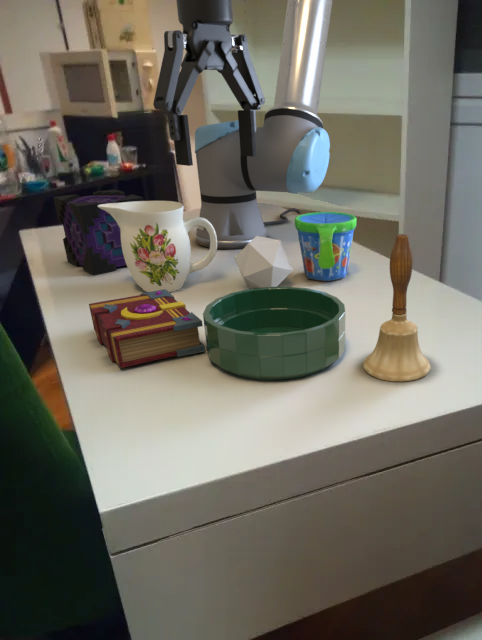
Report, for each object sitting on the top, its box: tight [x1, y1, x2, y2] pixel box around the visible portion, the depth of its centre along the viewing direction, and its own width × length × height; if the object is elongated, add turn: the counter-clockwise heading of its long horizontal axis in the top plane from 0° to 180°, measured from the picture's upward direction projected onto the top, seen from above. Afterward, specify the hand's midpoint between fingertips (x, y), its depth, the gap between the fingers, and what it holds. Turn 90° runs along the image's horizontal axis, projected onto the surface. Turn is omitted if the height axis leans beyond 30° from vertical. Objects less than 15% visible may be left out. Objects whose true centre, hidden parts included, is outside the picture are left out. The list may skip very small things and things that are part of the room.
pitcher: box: [98, 200, 218, 293], centre depth 98 cm, size 11×18×14 cm, turn 104°
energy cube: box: [52, 189, 144, 276], centre depth 112 cm, size 12×12×12 cm
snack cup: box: [294, 211, 357, 282], centre depth 103 cm, size 16×10×10 cm
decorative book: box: [88, 289, 207, 369], centre depth 80 cm, size 11×16×5 cm
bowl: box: [202, 286, 346, 381], centre depth 76 cm, size 18×18×6 cm
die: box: [234, 236, 294, 289], centre depth 99 cm, size 8×9×10 cm
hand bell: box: [362, 233, 432, 383], centre depth 69 cm, size 8×8×16 cm
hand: (218, 160), depth 91 cm, fingers open, 13 cm apart
